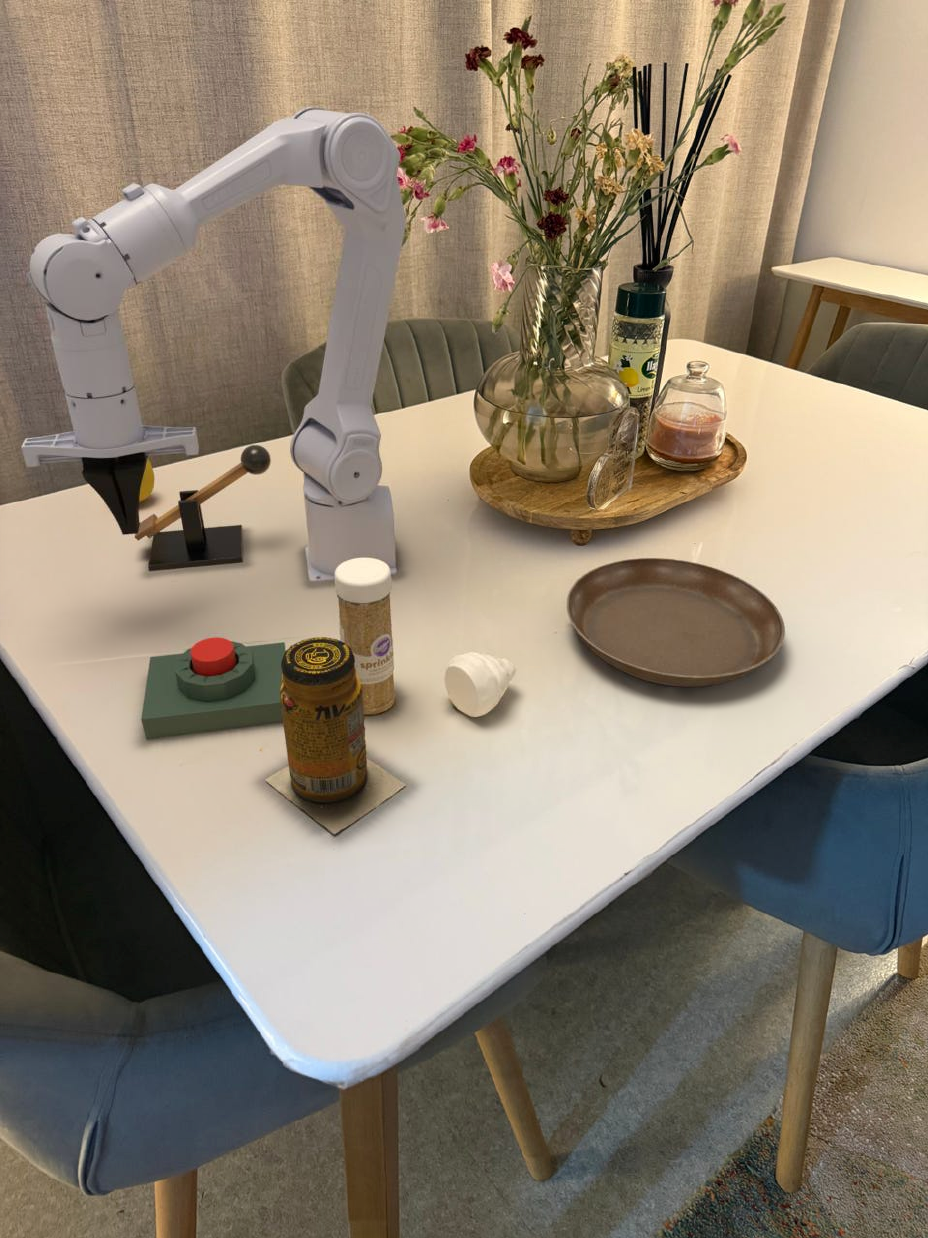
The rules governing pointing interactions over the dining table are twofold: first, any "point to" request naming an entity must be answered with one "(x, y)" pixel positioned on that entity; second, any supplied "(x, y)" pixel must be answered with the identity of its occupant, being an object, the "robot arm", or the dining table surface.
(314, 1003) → the dining table surface
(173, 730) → the button box
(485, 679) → the white meringue
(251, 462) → the lever
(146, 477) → the lemon
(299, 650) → the condiment
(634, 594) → the plant saucer
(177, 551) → the bracket
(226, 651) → the button
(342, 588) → the sprinkles bottle
